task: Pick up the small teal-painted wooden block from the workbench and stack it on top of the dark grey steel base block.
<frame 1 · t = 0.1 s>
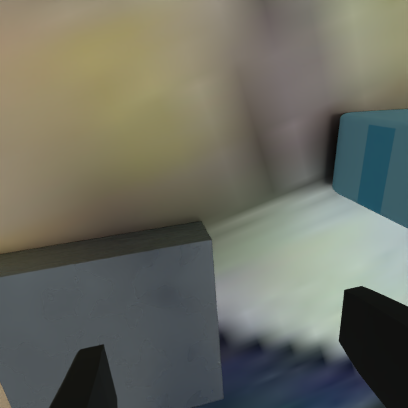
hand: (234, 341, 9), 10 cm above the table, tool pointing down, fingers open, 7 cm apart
base block: (116, 321, 20), on the table
data package: (404, 143, 20), on the table
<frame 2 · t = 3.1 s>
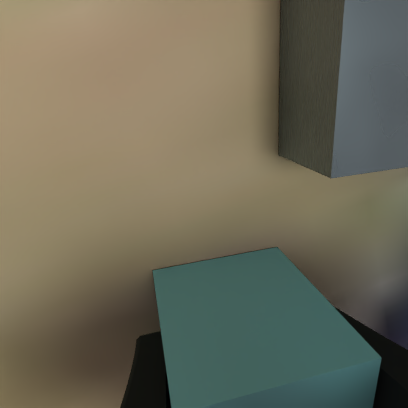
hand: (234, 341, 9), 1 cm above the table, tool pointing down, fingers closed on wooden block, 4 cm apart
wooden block: (220, 310, 10), on the table, touching gripper
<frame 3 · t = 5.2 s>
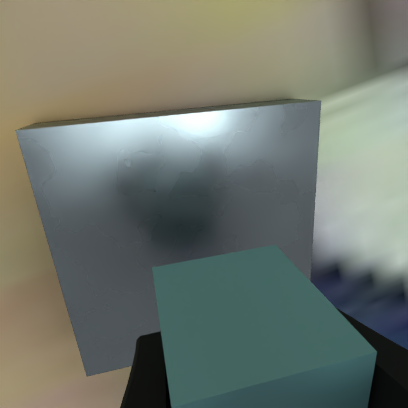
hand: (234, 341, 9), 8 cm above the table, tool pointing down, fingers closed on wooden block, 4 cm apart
base block: (185, 226, 17), on the table
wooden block: (219, 307, 10), point 7 cm above the table, touching gripper
when the fingers open (5 cm above the table, at t = 6.6 s): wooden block stays where it is, resting on base block.
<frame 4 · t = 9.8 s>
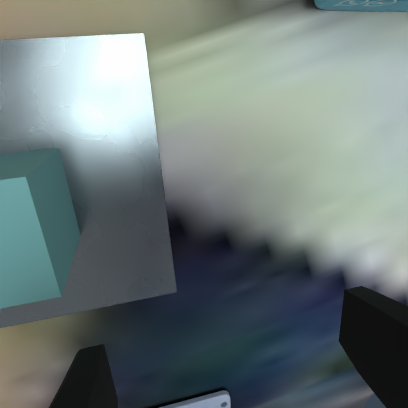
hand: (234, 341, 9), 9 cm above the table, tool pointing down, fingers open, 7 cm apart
base block: (35, 185, 15), on the table
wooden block: (19, 201, 13), point 2 cm above the table, touching base block
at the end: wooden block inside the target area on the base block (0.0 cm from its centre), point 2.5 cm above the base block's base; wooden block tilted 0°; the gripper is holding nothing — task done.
